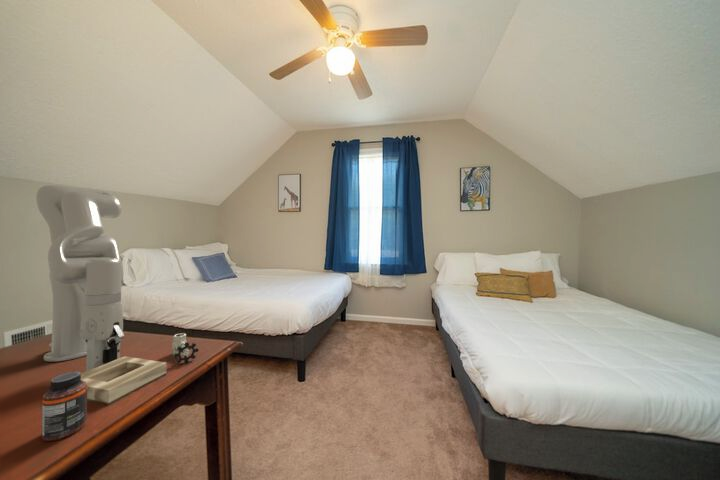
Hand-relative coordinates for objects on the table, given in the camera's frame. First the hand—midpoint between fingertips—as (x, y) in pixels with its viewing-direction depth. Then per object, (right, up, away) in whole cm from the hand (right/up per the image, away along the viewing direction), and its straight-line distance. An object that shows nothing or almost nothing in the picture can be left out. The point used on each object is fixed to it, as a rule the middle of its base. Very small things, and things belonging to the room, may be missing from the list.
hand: (102, 360), depth 73 cm
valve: (+16, -4, +10) cm, 20 cm away
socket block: (+10, -4, -6) cm, 12 cm away
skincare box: (0, -4, 0) cm, 4 cm away
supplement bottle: (+16, -4, -23) cm, 28 cm away
